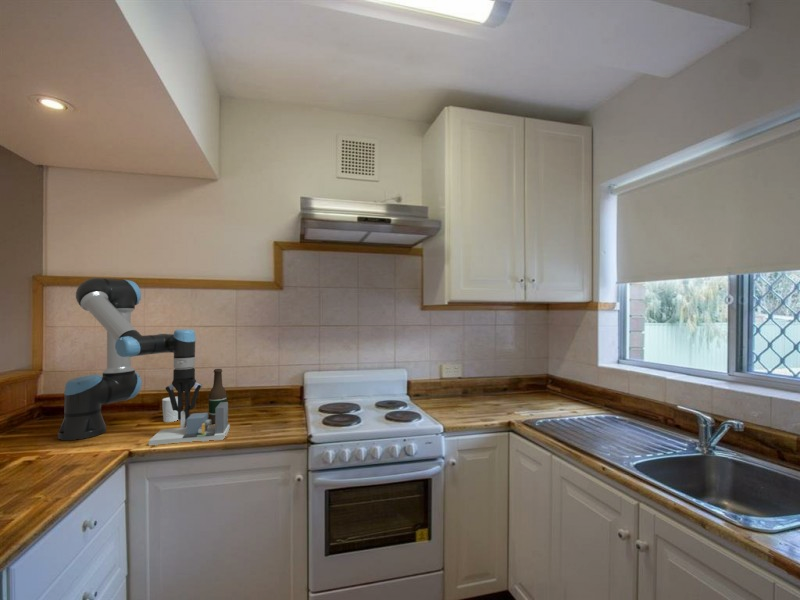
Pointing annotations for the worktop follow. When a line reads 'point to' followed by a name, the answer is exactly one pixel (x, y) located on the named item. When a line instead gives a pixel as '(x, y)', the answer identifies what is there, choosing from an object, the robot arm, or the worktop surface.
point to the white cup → (169, 410)
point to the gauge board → (210, 433)
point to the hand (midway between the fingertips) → (183, 427)
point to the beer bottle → (216, 394)
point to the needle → (203, 428)
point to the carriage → (197, 423)
